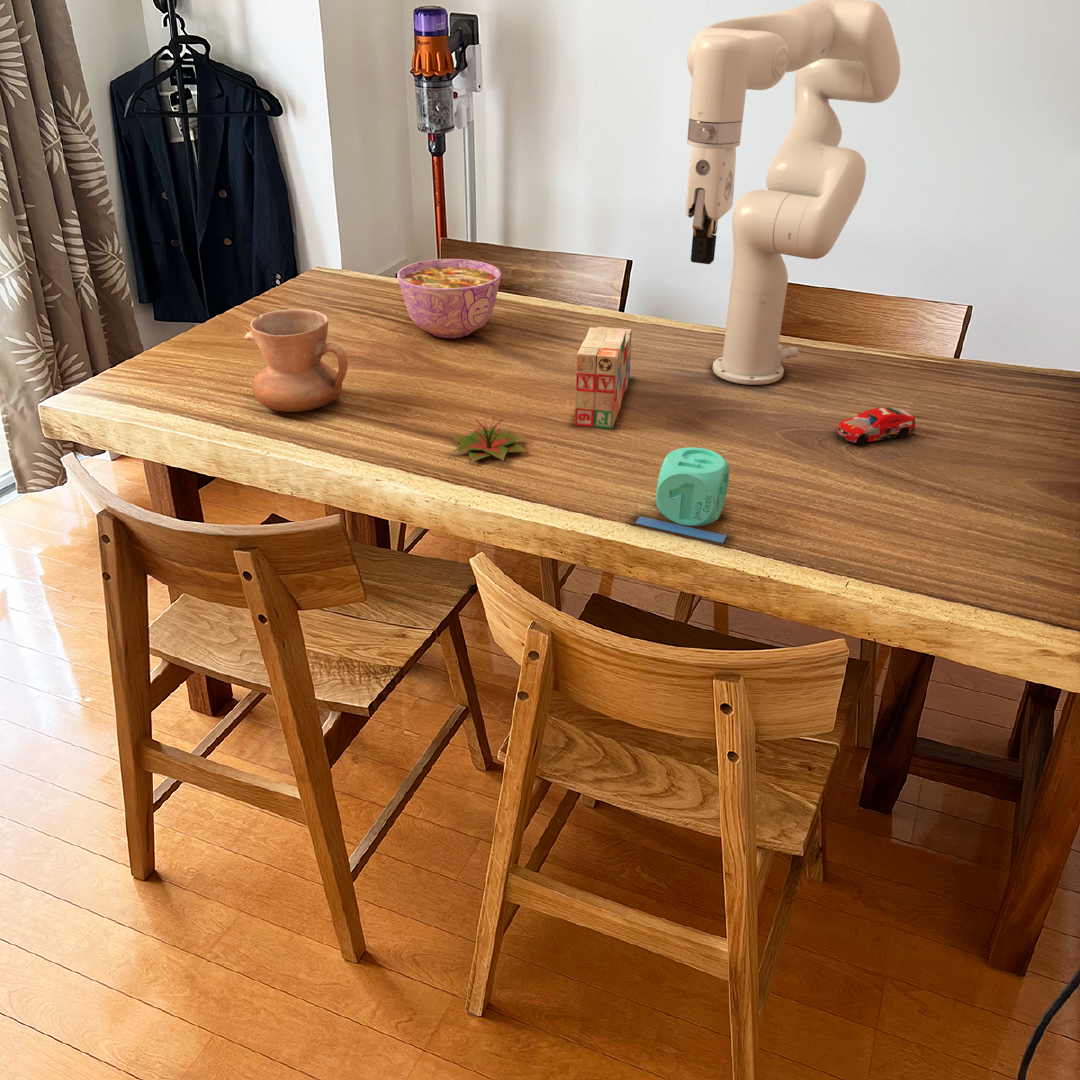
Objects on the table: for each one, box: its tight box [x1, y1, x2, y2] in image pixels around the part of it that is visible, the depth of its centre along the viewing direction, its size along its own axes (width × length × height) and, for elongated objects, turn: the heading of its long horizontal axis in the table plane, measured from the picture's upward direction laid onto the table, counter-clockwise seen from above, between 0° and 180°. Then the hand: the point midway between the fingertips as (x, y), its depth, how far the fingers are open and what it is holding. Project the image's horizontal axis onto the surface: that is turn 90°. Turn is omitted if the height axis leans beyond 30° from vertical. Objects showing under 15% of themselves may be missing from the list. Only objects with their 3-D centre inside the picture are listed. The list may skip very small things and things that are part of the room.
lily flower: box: [451, 415, 528, 463], centre depth 149 cm, size 12×12×5 cm
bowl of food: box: [396, 258, 502, 339], centre depth 191 cm, size 20×20×12 cm
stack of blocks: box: [574, 326, 633, 429], centre depth 162 cm, size 21×6×12 cm, turn 168°
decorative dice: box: [655, 446, 730, 527], centre depth 132 cm, size 8×8×8 cm
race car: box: [836, 406, 916, 446], centre depth 154 cm, size 13×5×4 cm, turn 110°
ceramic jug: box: [244, 308, 349, 413], centre depth 160 cm, size 18×14×14 cm
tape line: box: [634, 516, 727, 544], centre depth 130 cm, size 12×2×1 cm, turn 66°
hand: (702, 261), depth 149 cm, fingers closed
